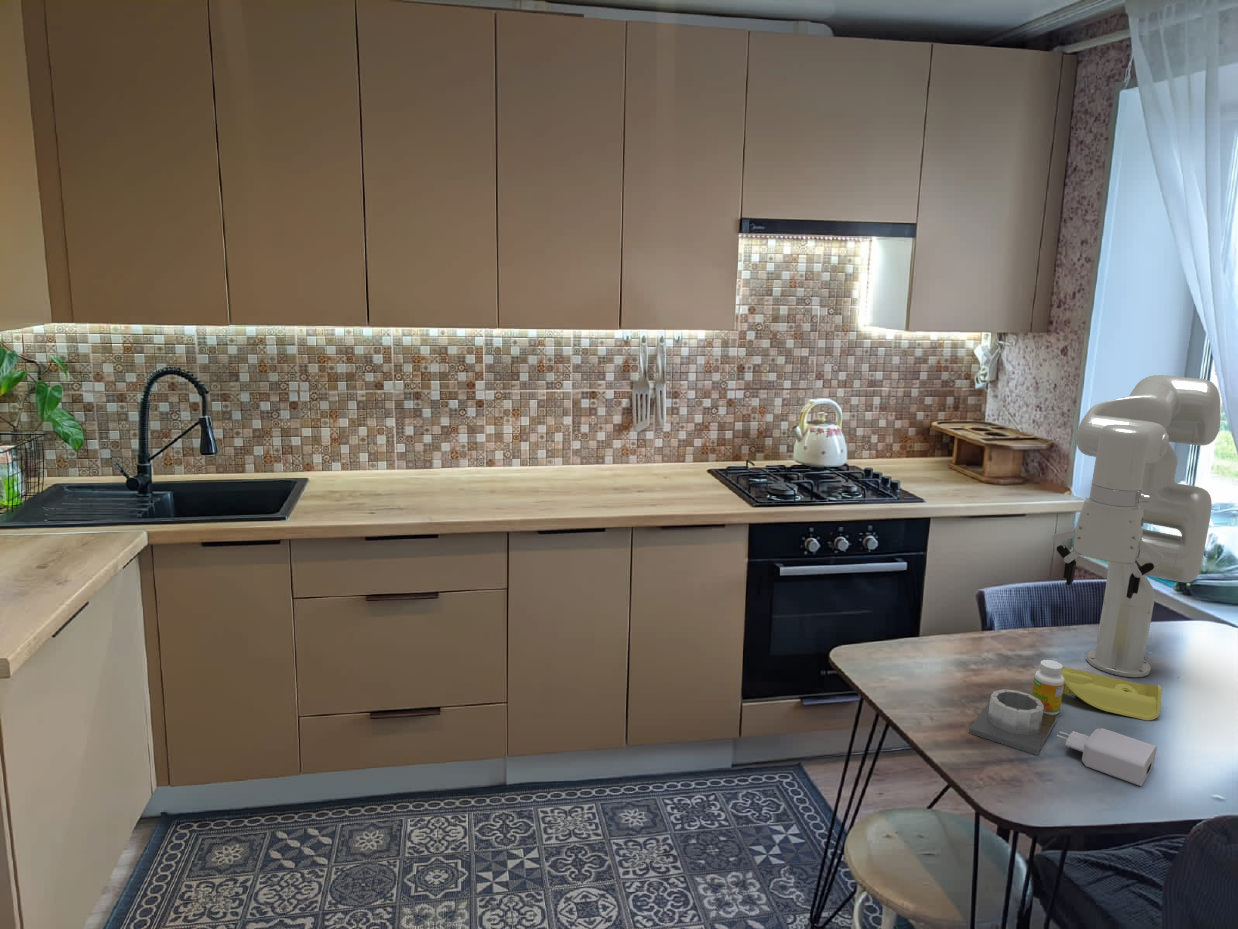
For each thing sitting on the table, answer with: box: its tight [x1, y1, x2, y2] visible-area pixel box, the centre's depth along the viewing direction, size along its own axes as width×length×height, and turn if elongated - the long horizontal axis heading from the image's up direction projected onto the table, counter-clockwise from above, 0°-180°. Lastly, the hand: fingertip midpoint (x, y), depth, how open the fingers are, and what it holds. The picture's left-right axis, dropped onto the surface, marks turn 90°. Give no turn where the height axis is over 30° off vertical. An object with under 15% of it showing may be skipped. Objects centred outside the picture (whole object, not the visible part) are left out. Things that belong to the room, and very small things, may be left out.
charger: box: [1056, 727, 1158, 787], centre depth 161 cm, size 5×9×15 cm
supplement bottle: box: [1031, 659, 1064, 716], centre depth 179 cm, size 5×5×10 cm
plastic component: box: [1061, 666, 1162, 721], centre depth 184 cm, size 20×7×10 cm
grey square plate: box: [968, 688, 1058, 756], centre depth 171 cm, size 16×12×6 cm
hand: (1099, 589), depth 160 cm, fingers open, 9 cm apart
